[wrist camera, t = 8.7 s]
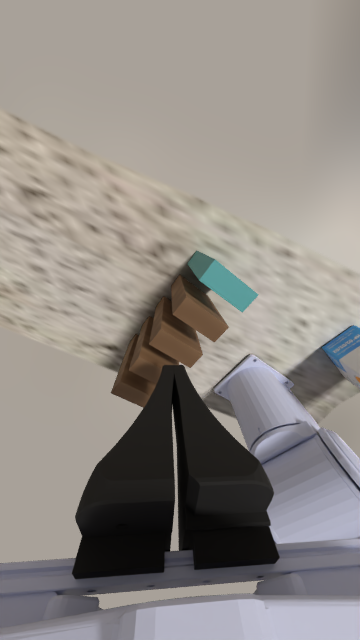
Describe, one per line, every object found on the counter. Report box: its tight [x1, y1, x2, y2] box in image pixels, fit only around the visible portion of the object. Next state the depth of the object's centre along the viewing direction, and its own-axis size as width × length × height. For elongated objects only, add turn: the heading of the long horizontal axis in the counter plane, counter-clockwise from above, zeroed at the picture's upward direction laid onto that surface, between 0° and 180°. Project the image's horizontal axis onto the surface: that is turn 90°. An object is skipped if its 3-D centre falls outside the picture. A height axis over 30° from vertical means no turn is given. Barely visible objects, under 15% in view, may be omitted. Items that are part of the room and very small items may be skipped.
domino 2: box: [111, 334, 156, 408], centre depth 19 cm, size 2×4×8 cm, turn 53°
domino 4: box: [188, 251, 258, 312], centre depth 16 cm, size 2×4×8 cm, turn 54°
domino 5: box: [171, 275, 229, 342], centre depth 17 cm, size 2×4×8 cm, turn 53°
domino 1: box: [129, 316, 179, 384], centre depth 18 cm, size 2×4×8 cm, turn 53°
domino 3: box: [149, 297, 203, 368], centre depth 17 cm, size 2×4×8 cm, turn 53°
